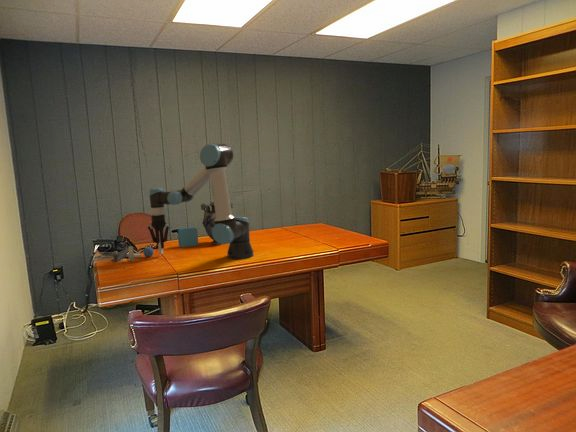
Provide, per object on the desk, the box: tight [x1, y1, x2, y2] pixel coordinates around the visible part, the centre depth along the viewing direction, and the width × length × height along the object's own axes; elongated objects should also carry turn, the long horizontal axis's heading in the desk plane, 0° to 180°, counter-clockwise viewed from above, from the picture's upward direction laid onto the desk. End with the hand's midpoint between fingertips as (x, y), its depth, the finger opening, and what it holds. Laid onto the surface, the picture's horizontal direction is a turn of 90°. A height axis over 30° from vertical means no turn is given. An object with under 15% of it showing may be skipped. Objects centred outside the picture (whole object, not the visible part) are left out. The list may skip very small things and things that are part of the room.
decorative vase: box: [200, 201, 233, 245], centre depth 286 cm, size 21×19×28 cm
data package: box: [177, 226, 199, 248], centre depth 281 cm, size 12×4×12 cm, turn 119°
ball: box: [142, 246, 155, 258], centre depth 253 cm, size 6×6×6 cm
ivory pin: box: [126, 253, 142, 259], centre depth 254 cm, size 2×2×8 cm
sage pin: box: [128, 245, 135, 263], centre depth 244 cm, size 2×2×8 cm
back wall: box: [113, 247, 129, 263], centre depth 254 cm, size 2×20×4 cm, turn 177°
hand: (161, 253), depth 252 cm, fingers closed
